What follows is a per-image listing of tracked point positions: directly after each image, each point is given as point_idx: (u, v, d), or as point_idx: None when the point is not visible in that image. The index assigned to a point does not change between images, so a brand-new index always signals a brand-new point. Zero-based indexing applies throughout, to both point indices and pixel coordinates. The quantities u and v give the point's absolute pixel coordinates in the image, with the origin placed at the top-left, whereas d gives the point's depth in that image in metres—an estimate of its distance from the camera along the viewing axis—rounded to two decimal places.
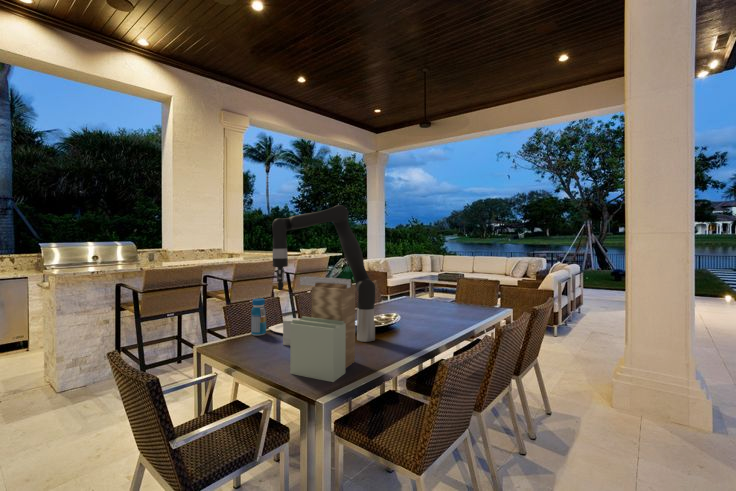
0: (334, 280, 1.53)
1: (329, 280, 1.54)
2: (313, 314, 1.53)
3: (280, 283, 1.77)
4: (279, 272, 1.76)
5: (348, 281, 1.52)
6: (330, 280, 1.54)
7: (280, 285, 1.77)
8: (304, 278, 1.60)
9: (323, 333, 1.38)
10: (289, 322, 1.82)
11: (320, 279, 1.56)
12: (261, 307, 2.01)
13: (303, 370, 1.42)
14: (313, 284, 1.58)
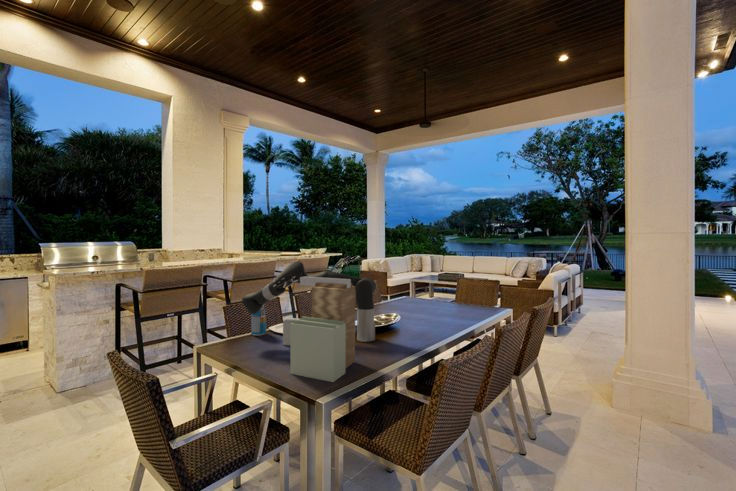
0: (334, 280, 1.53)
1: (329, 280, 1.54)
2: (313, 314, 1.53)
3: (284, 279, 1.68)
4: (274, 285, 1.69)
5: (348, 281, 1.52)
6: (330, 280, 1.54)
7: (286, 278, 1.68)
8: (304, 278, 1.60)
9: (323, 333, 1.38)
10: (289, 322, 1.82)
11: (320, 279, 1.56)
12: None
13: (303, 370, 1.42)
14: (313, 284, 1.58)
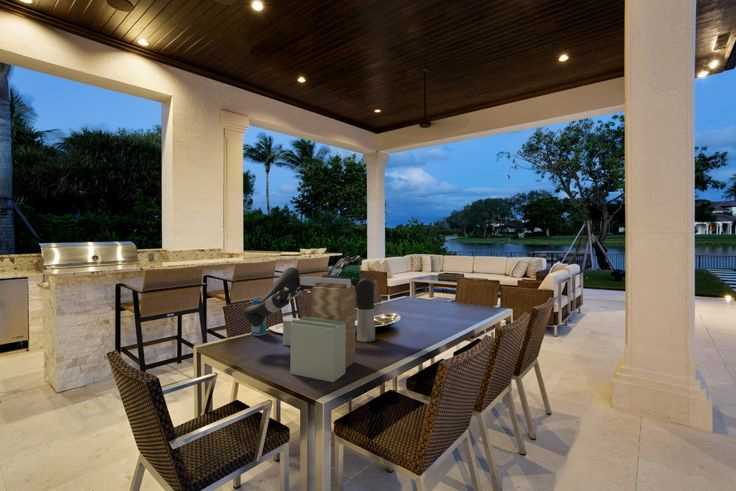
0: (334, 280, 1.53)
1: (329, 280, 1.54)
2: (313, 314, 1.53)
3: (289, 290, 1.59)
4: (278, 297, 1.60)
5: (348, 281, 1.52)
6: (330, 280, 1.54)
7: (290, 289, 1.59)
8: (304, 278, 1.60)
9: (323, 333, 1.38)
10: (289, 322, 1.82)
11: (320, 279, 1.56)
12: None
13: (303, 370, 1.42)
14: (313, 284, 1.58)
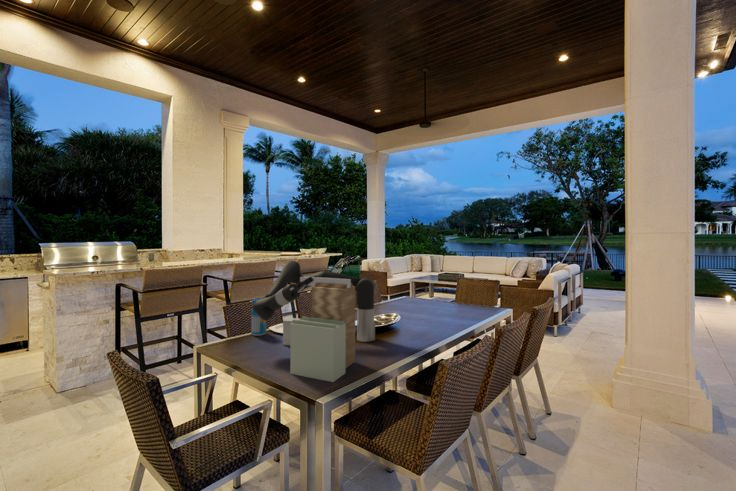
0: (334, 280, 1.53)
1: (329, 280, 1.54)
2: (313, 314, 1.53)
3: (304, 282, 1.58)
4: (292, 288, 1.57)
5: (348, 281, 1.52)
6: (330, 280, 1.54)
7: (306, 281, 1.58)
8: (304, 278, 1.60)
9: (323, 333, 1.38)
10: (289, 322, 1.82)
11: (320, 279, 1.56)
12: None
13: (303, 370, 1.42)
14: (313, 284, 1.58)
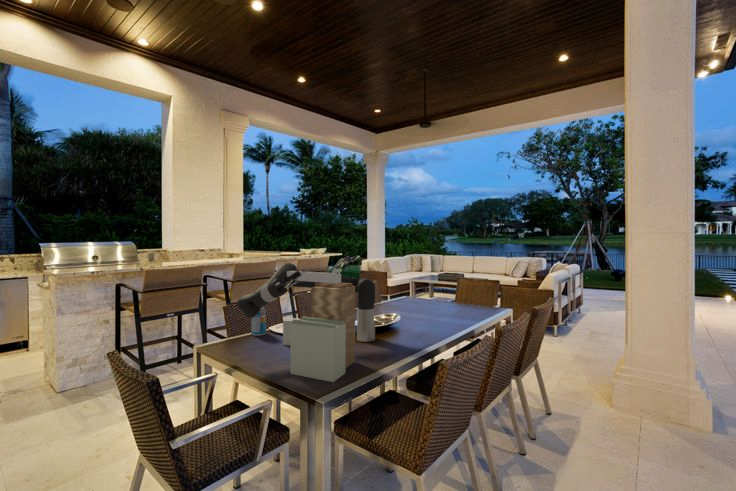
0: (323, 275, 1.41)
1: (318, 275, 1.42)
2: (313, 314, 1.53)
3: (291, 276, 1.46)
4: (278, 283, 1.45)
5: (338, 276, 1.40)
6: (319, 275, 1.42)
7: (293, 275, 1.45)
8: (291, 272, 1.47)
9: (323, 333, 1.38)
10: (289, 322, 1.82)
11: (308, 273, 1.44)
12: None
13: (303, 370, 1.42)
14: (301, 279, 1.45)
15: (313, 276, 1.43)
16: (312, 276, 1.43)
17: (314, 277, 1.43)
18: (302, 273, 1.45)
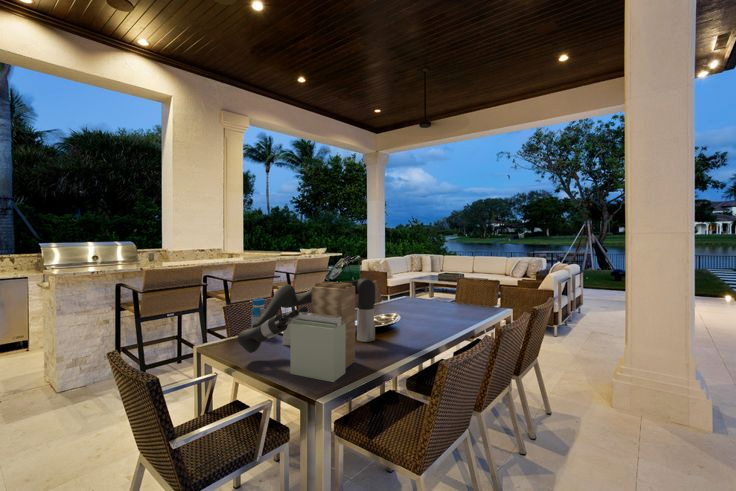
0: (323, 318, 1.41)
1: (318, 317, 1.42)
2: None
3: (290, 315, 1.45)
4: (277, 322, 1.45)
5: (339, 319, 1.40)
6: (319, 317, 1.42)
7: (292, 314, 1.45)
8: None
9: (323, 333, 1.38)
10: None
11: (308, 316, 1.44)
12: (261, 307, 2.01)
13: (303, 370, 1.42)
14: None
15: (313, 318, 1.43)
16: (312, 318, 1.43)
17: (314, 320, 1.43)
18: (302, 315, 1.45)
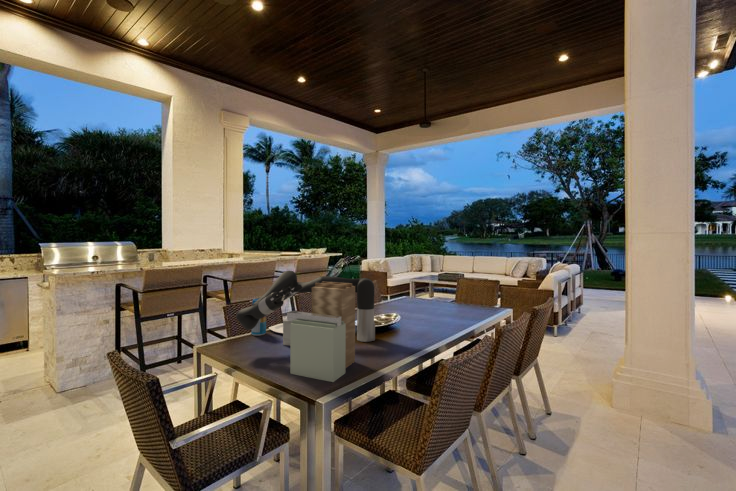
0: (323, 318, 1.41)
1: (318, 317, 1.42)
2: None
3: (283, 292, 1.55)
4: (272, 299, 1.56)
5: (339, 319, 1.40)
6: (319, 317, 1.42)
7: (285, 291, 1.55)
8: (291, 314, 1.48)
9: (323, 333, 1.38)
10: (289, 322, 1.82)
11: (308, 316, 1.44)
12: None
13: (303, 370, 1.42)
14: None
15: (313, 318, 1.43)
16: (312, 318, 1.43)
17: (314, 320, 1.43)
18: (302, 315, 1.45)
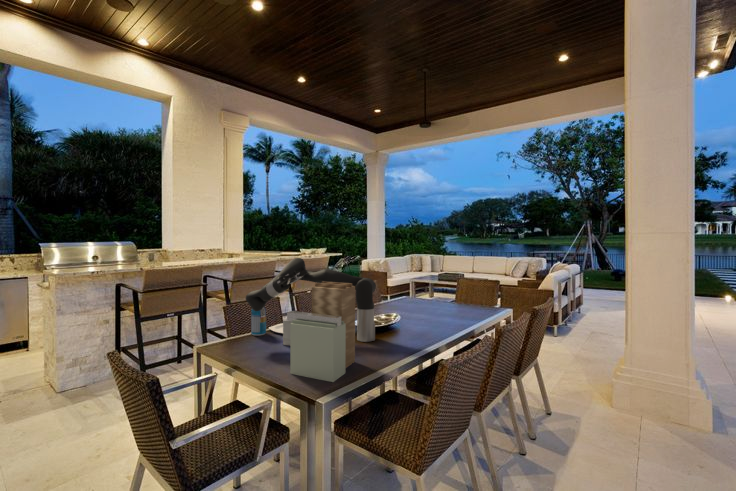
0: (323, 318, 1.41)
1: (318, 317, 1.42)
2: None
3: (289, 275, 1.67)
4: (278, 282, 1.68)
5: (339, 319, 1.40)
6: (319, 317, 1.42)
7: (290, 274, 1.67)
8: (291, 314, 1.48)
9: (323, 333, 1.38)
10: (289, 322, 1.82)
11: (308, 316, 1.44)
12: None
13: (303, 370, 1.42)
14: None
15: (313, 318, 1.43)
16: (312, 318, 1.43)
17: (314, 320, 1.43)
18: (302, 315, 1.45)
